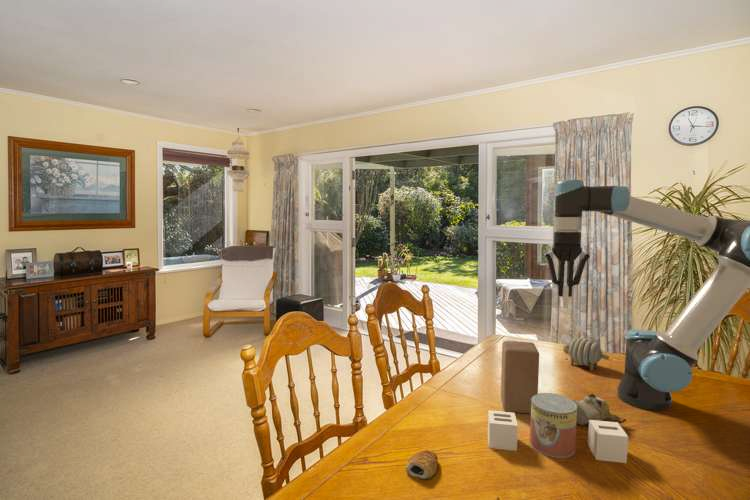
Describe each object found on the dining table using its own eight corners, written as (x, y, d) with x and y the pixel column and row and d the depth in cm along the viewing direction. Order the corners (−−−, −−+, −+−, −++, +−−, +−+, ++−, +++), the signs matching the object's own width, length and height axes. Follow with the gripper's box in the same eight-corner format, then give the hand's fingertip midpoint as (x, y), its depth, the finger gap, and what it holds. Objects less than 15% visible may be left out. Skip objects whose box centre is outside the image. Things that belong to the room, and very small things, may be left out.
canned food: (522, 446, 111) (524, 403, 109) (538, 429, 119) (539, 389, 118) (567, 463, 103) (570, 417, 102) (580, 444, 112) (582, 401, 110)
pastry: (419, 454, 108) (419, 440, 107) (444, 462, 104) (444, 447, 104) (403, 474, 99) (403, 459, 99) (430, 484, 96) (430, 468, 96)
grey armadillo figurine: (566, 357, 175) (568, 332, 174) (611, 368, 164) (613, 340, 163) (558, 364, 168) (559, 338, 166) (604, 376, 156) (606, 347, 155)
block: (537, 415, 127) (540, 352, 125) (503, 412, 129) (505, 349, 127) (532, 400, 137) (534, 341, 135) (500, 398, 139) (502, 339, 137)
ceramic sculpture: (560, 387, 126) (603, 386, 129) (557, 414, 127) (600, 412, 130) (585, 403, 116) (630, 402, 119) (581, 433, 117) (627, 430, 120)
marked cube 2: (616, 447, 110) (617, 421, 110) (626, 463, 103) (628, 436, 103) (587, 444, 112) (589, 419, 111) (595, 460, 105) (597, 433, 104)
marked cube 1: (513, 436, 116) (514, 412, 115) (516, 451, 109) (517, 425, 108) (487, 434, 117) (488, 409, 116) (489, 448, 110) (489, 422, 109)
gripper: (587, 230, 130) (583, 304, 132) (542, 230, 132) (539, 303, 135) (594, 231, 122) (590, 310, 125) (547, 231, 125) (544, 308, 127)
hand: (564, 306), depth 130 cm, fingers closed
